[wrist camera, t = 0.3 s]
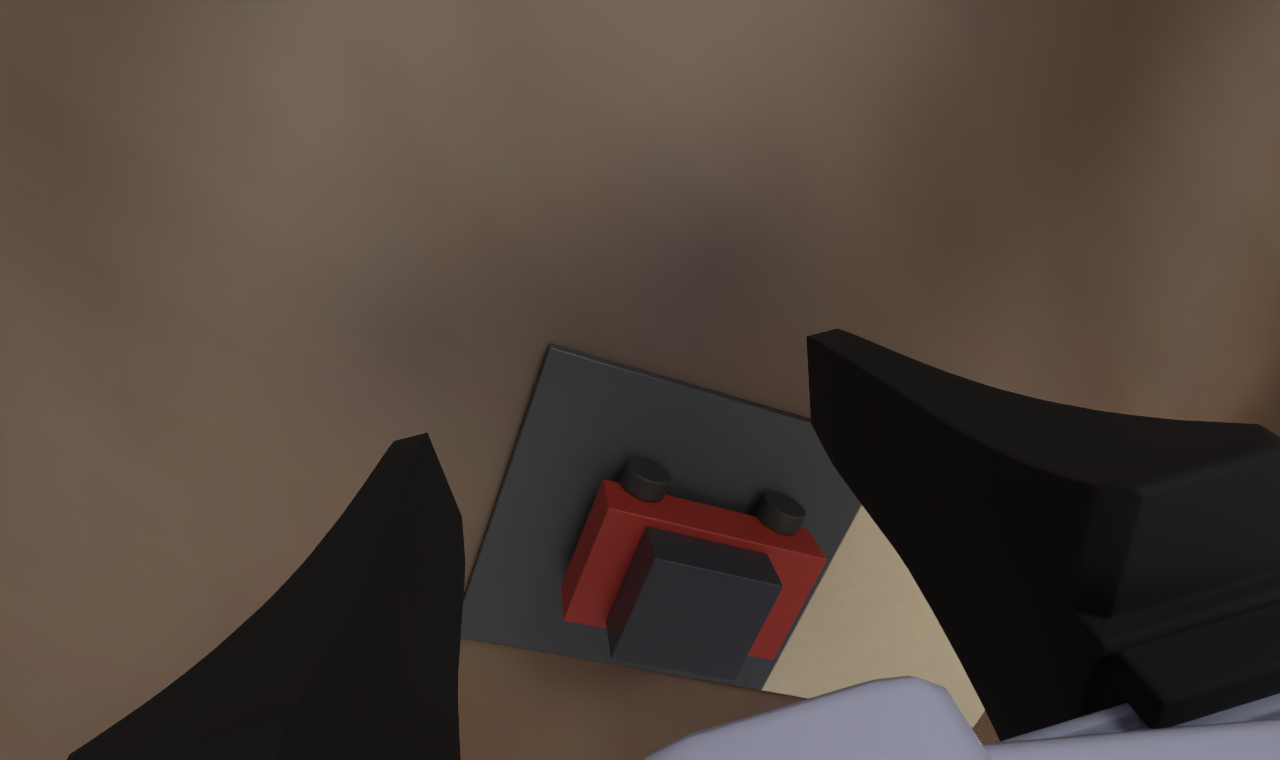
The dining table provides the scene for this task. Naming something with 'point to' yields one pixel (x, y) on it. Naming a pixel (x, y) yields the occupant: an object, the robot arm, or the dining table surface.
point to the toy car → (689, 575)
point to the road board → (710, 474)
